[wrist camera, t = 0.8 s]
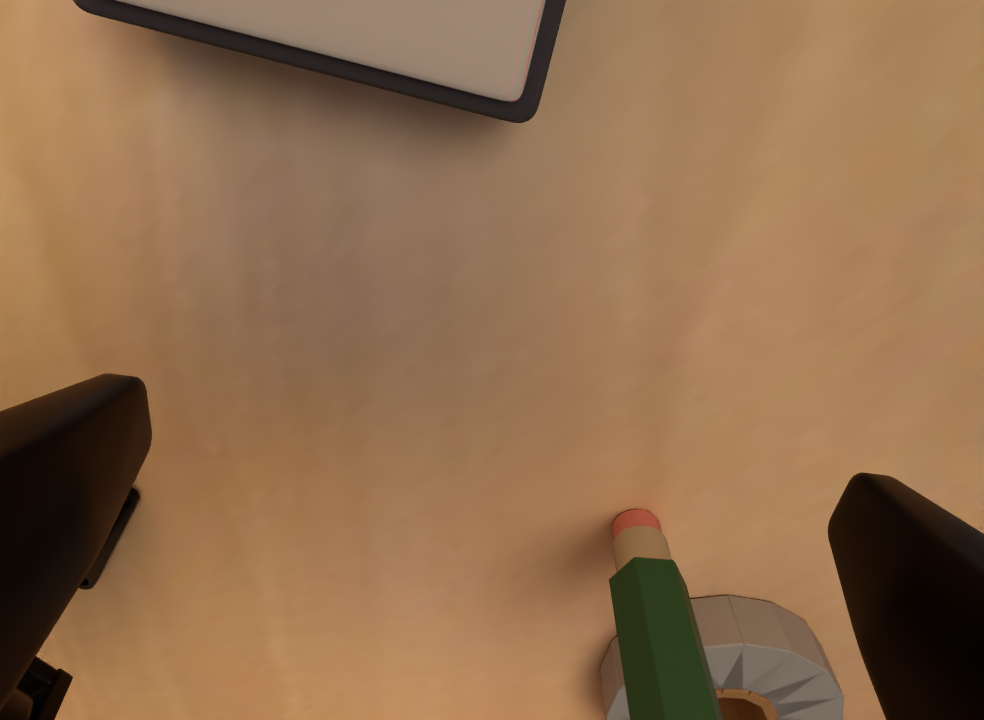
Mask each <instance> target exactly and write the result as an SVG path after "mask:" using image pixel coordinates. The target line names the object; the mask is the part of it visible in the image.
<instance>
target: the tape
mask: <svg viewBox="0 0 984 720" xmlns="http://www.w3.org/2000/svg"><path fill="white" fill-rule="evenodd" d="M690 600H691V604H692V608H693V611H694V615H695V619H696V622H697V626H698V629H699V633H700V637H701V640H702V644H703V648H704V651H705V655H706V659H707V662H708V666H709V669H710V673H711V677H712V680H713V684H714V688H715V691H716V695H717V699H718V702H719V706H720V710H721V713H722V717H723V720H842V718H843V705H844V694H843V692H842V690H841V688H840V685H839V683H838V681H837V679H836V677H835V674H834V672H833V670H832V668H831V665H830V663H829V661H828V659H827V657H826V654H825V652H824V650H823V648H822V646H821V644H820V643H819V641H818V640H817V638H816V636H815V635H814V633H813V632H812V630H811V629H810V627H809V626H808V624H807V623H806V621H804V620H803V619H801V618H800V617H798V616H796V615H794V614H792V613H790V612H789V611H787V610H785V609H783V608H781V607H780V606H778V605H776V604H774V603H771V602H768V601H762V600H756V599H750V598H744V597H737V596H731V595H728V596H726V595H724V596H715V597H706V598H697V599H690ZM600 673H601V682H602V690H603V699H604V708H605V716H606V720H630V717H629V710H628V703H627V696H626V690H625V683H624V676H623V670H622V663H621V656H620V650H619V643H618V636H617V637H616V638H615V639H613V641H612V642H611V644H610V646H609V649H608V651H607V653H606V656H605V658H604V660H603V663H602V665H601V668H600Z"/></svg>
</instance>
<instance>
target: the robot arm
mask: <svg viewBox="0 0 984 720" xmlns="http://www.w3.org/2000/svg"><path fill="white" fill-rule="evenodd" d="M151 440H152V429H151V421H150V414H149V406H148V399H147V391H146V387H145V384H144V382H143V381H142V380H141V379H139V378H138V377H133V376H125V375H118V374H110V373H109V374H102V375H100V376H97V377H94V378H91V379H88V380H86V381H83V382H80V383H77V384H75V385H72V386H69V387H66V388H64V389H61V390H58V391H55V392H53V393H50V394H47V395H44V396H42V397H39V398H36V399H33V400H31V401H28V402H25V403H22V404H20V405H17V406H14V407H11V408H8V409H6V410H3V411H0V720H54V719H55V717H56V715H57V712H58V710H59V708H60V706H61V703H62V701H63V699H64V697H65V694H66V692H67V690H68V688H69V685H70V683H71V681H72V679H73V676H71V675H70V674H68V673H67V672H65V671H64V670H62V669H61V668H60V669H58V670H57V669H55V668H54V667H52V666H50V665H49V664H47V663H46V662H44V661H43V660H41V659H40V658H38V657H37V656H36V654H37V653H38V651H39V650H40V648H41V646H42V645H43V643H44V642H45V640H46V638H47V637H48V635H49V634H50V632H51V630H52V629H53V627H54V626H55V624H56V623H57V621H58V619H59V618H60V616H61V615H62V613H63V611H64V610H65V608H66V607H67V605H68V603H69V602H70V600H71V599H72V597H73V595H74V594H75V592H76V591H77V589H78V588H81V589H91V588H92V587H93V586H94V585H95V584H96V582H97V581H98V579H99V578H100V576H101V574H102V572H103V570H104V568H105V566H106V564H107V562H108V560H109V558H110V557H111V555H112V553H113V551H114V549H115V547H116V545H117V543H118V541H119V539H120V537H121V535H122V533H123V532H124V530H125V528H126V526H127V524H128V522H129V520H130V518H131V516H132V514H133V512H134V510H135V508H136V507H137V505H138V503H139V501H140V494H139V493H138V491H137V490H136V489H134V488H133V487H132V485H133V483H134V481H135V479H136V477H137V475H138V473H139V470H140V468H141V466H142V464H143V462H144V460H145V458H146V456H147V454H148V451H149V449H150V445H151ZM828 537H829V542H830V546H831V549H832V553H833V557H834V560H835V564H836V568H837V571H838V575H839V579H840V582H841V586H842V590H843V593H844V597H845V601H846V604H847V608H848V612H849V615H850V619H851V623H852V626H853V630H854V633H855V636H856V640H857V643H858V646H859V649H860V652H861V655H862V658H863V660H864V663H865V666H866V669H867V671H868V674H869V676H870V679H871V681H872V684H873V687H874V689H875V692H876V694H877V697H878V700H879V702H880V705H881V707H882V710H883V712H884V715H885V718H886V720H984V534H983V533H981V532H980V531H978V530H977V529H975V528H973V527H972V526H970V525H969V524H967V523H965V522H964V521H962V520H961V519H959V518H957V517H956V516H954V515H953V514H951V513H949V512H948V511H946V510H945V509H943V508H941V507H940V506H938V505H937V504H935V503H933V502H932V501H930V500H929V499H927V498H925V497H924V496H922V495H921V494H919V493H917V492H916V491H914V490H913V489H911V488H909V487H908V486H906V485H905V484H903V483H901V482H900V481H898V480H897V479H895V478H893V477H890V476H887V475H879V474H871V473H858V474H856V475H854V476H853V477H852V478H851V479H850V481H849V483H848V485H847V487H846V489H845V491H844V492H843V494H842V496H841V498H840V500H839V502H838V504H837V506H836V508H835V510H834V512H833V514H832V516H831V518H830V521H829V525H828Z"/></svg>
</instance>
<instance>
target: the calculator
mask: <svg viewBox="0 0 984 720" xmlns="http://www.w3.org/2000/svg"><path fill="white" fill-rule="evenodd" d="M73 1H74V2H75V4H76V5H77V6H78V7H79V8H81V9H82V10H84V11H86V12H88V13H91V14H94V15H98V16H102V17H105V18H109V19H113V20H117V21H121V22H125V23H129V24H132V25H136V26H140V27H144V28H148V29H152V30H156V31H160V32H163V33H167V34H171V35H175V36H179V37H183V38H187V39H191V40H194V41H198V42H202V43H206V44H210V45H214V46H218V47H222V48H226V49H229V50H233V51H237V52H241V53H245V54H249V55H253V56H257V57H260V58H264V59H268V60H272V61H276V62H280V63H284V64H288V65H291V66H295V67H299V68H303V69H307V70H311V71H315V72H319V73H322V74H326V75H330V76H334V77H338V78H342V79H346V80H350V81H353V82H357V83H361V84H365V85H369V86H373V87H377V88H381V89H384V90H388V91H392V92H396V93H400V94H404V95H408V96H412V97H416V98H419V99H423V100H427V101H431V102H435V103H439V104H443V105H447V106H450V107H454V108H458V109H462V110H466V111H470V112H474V113H478V114H481V115H485V116H489V117H493V118H497V119H501V120H505V121H509V122H514V123H523V122H526V121H528V120H530V119H531V118H532V117H533V116H534V115H535V113H536V111H537V109H538V106H539V102H540V99H541V95H542V91H543V87H544V84H545V80H546V76H547V72H548V68H549V64H550V60H551V56H552V52H553V49H554V45H555V41H556V37H557V33H558V29H559V25H560V21H561V18H562V14H563V10H564V6H565V2H566V0H73Z"/></svg>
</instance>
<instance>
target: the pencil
mask: <svg viewBox="0 0 984 720" xmlns="http://www.w3.org/2000/svg"><path fill="white" fill-rule="evenodd" d="M612 531H613V537H614V543H613V553H614V559H615V565H616V571H617V573H616V574H615V575H613V576H612V577H611V578H610V579H609V583H610V589H611V596H612V603H613V609H614V616H615V623H616V629H617V636H618V643H619V650H620V656H621V663H622V670H623V676H624V683H625V690H626V696H627V703H628V710H629V717H630V720H723V717H722V713H721V710H720V706H719V702H718V699H717V695H716V691H715V688H714V684H713V680H712V677H711V673H710V669H709V666H708V662H707V659H706V655H705V651H704V648H703V644H702V640H701V637H700V633H699V629H698V626H697V622H696V619H695V615H694V611H693V608H692V604H691V600H690V597H689V593H688V589H687V586H686V584H685V582H684V580H683V577H682V575H681V573H680V571H679V569H678V567H677V565H676V563H675V562H674V560H672V559H671V555H670V551H669V547H668V544H667V540H666V538H665V536H664V535H663V534H662V531H661V527H660V523H659V520H658V519H657V517H656V516H655V515H653V514H652V513H650V512H648V511H646V510H640V509H635V510H629V511H626V512H624V513H622V514H621V515H619V516H618V517H617V518H616V519H615V521H614V523H613V526H612Z"/></svg>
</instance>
